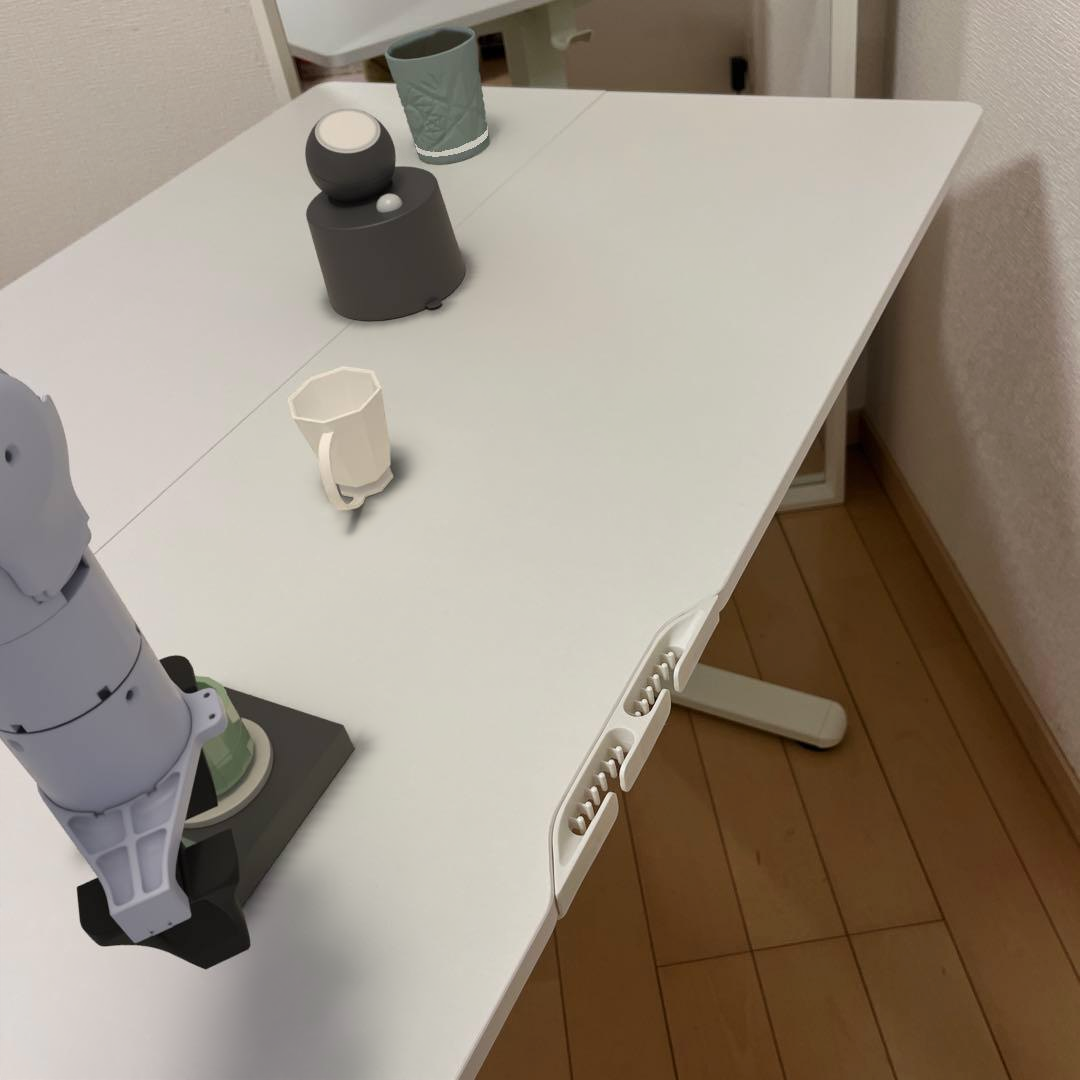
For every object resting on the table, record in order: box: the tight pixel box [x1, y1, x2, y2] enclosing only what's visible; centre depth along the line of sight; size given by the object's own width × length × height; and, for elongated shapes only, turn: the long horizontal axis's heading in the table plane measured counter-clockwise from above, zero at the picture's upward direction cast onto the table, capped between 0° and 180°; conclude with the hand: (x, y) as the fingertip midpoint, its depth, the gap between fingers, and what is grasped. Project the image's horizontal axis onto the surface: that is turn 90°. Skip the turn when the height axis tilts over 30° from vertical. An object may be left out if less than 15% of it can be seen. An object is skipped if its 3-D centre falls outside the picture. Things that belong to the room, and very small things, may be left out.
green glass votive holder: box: [195, 675, 254, 797], centre depth 60 cm, size 6×6×4 cm
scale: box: [181, 685, 355, 908], centre depth 63 cm, size 11×11×3 cm
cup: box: [287, 365, 394, 511], centre depth 80 cm, size 7×10×8 cm
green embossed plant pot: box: [384, 25, 490, 165], centre depth 125 cm, size 10×10×12 cm
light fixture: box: [304, 108, 466, 322], centre depth 101 cm, size 13×16×14 cm
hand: (209, 876), depth 47 cm, fingers open, 7 cm apart
